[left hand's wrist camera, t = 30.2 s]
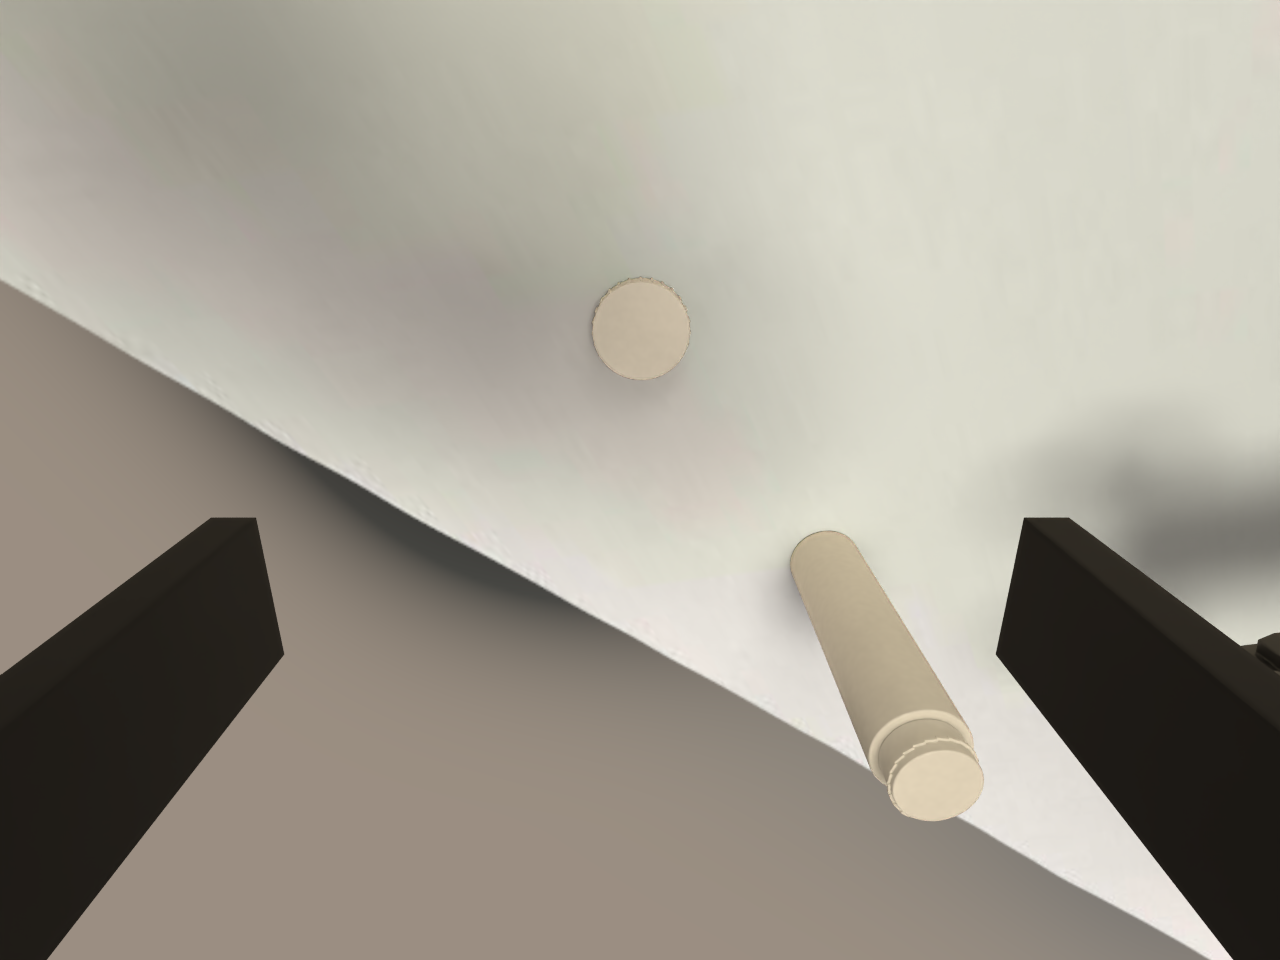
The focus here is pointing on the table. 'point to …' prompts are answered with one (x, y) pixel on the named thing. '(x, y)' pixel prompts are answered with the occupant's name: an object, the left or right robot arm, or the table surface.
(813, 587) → the cream cylindrical bottle
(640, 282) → the lid
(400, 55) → the table surface
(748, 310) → the table surface
